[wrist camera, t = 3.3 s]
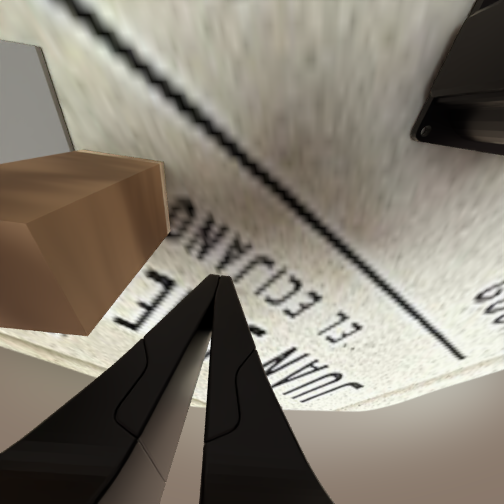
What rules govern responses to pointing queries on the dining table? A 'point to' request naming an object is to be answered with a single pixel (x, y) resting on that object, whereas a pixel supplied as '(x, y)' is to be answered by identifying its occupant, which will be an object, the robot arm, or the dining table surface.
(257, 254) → the dining table surface
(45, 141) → the mat
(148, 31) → the dining table surface
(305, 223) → the dining table surface
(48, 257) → the block
